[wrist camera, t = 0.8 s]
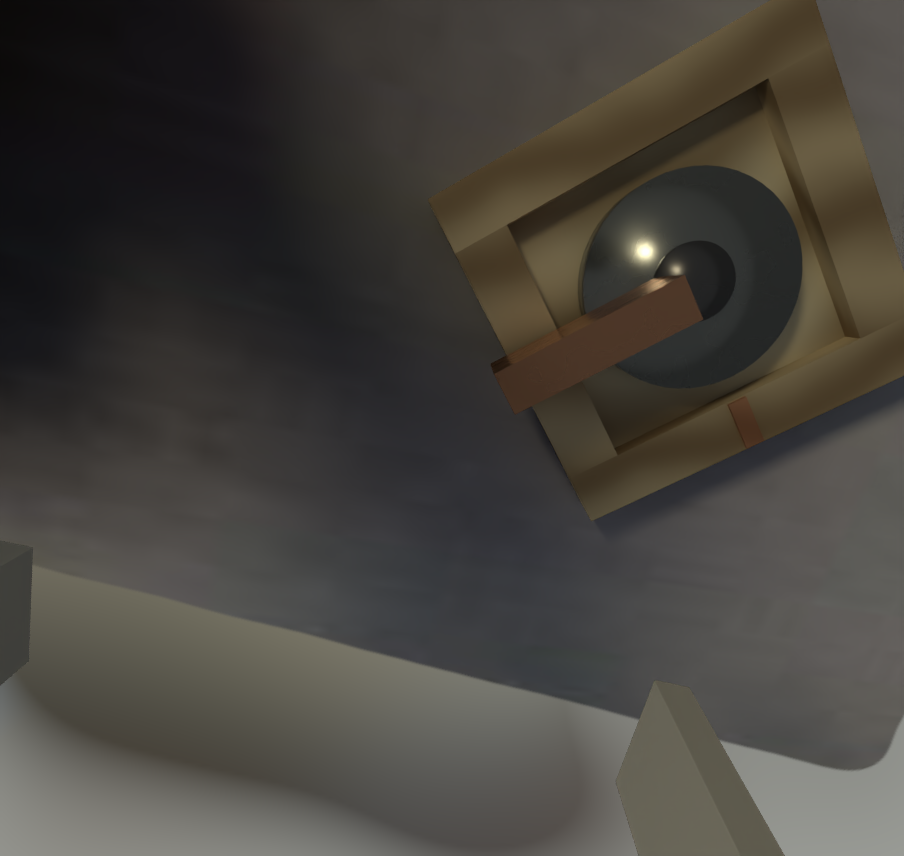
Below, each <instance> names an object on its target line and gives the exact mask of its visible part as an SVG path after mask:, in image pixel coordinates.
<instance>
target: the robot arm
mask: <svg viewBox="0 0 904 856" xmlns="http://www.w3.org/2000/svg"><path fill="white" fill-rule="evenodd" d="M32 556H33V547H28V546H24V545H19V544H14V543H10V542H5V541H0V685H1V684H3V683H4V682H5V681H6V680H7V679H8V678H9V677H11V676H12V675H13V674H14V673H15V672H17V671H18V670H19V669H20V668H21V667H22V666H24V665H25V664H26V663H27V662H28V661H29V639H30V637H29V636H30V610H31V584H32V583H31V582H32ZM616 785H617V788H618V791H619V794H620V797H621V801H622V804H623V807H624V810H625V814H626V817H627V820H628V823H629V827H630V829H631V833H632V836H633V839H634V843H635V846H636V849H637V852H638V856H785V855H784V854H783V852H782V850H781V848H780V847H779V845H778V843H777V841H776V840H775V838H774V836H773V834H772V833H771V831H770V829H769V827H768V825H767V824H766V822H765V820H764V819H763V817H762V815H761V813H760V811H759V810H758V808H757V806H756V804H755V803H754V801H753V799H752V797H751V796H750V794H749V792H748V790H747V789H746V787H745V785H744V783H743V781H742V780H741V778H740V776H739V774H738V773H737V771H736V769H735V767H734V766H733V764H732V762H731V760H730V758H729V757H728V755H727V753H726V751H725V750H724V748H723V746H722V744H721V743H720V741H719V739H718V737H717V736H716V734H715V732H714V730H713V728H712V727H711V725H710V723H709V721H708V720H707V718H706V716H705V714H704V713H703V711H702V709H701V707H700V706H699V704H698V702H697V700H696V699H695V697H694V695H693V693H692V691H691V690H690V688H689V687H685V686H680V685H676V684H671V683H666V682H662V681H657V680H654V683H653V685H652V688H651V691H650V693H649V696H648V698H647V701H646V704H645V706H644V709H643V711H642V714H641V717H640V719H639V722H638V725H637V727H636V730H635V732H634V735H633V737H632V740H631V743H630V746H629V748H628V751H627V753H626V756H625V758H624V761H623V763H622V766H621V769H620V771H619V774H618V776H617V779H616Z"/></svg>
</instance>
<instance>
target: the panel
mask: <svg viewBox="0 0 904 856" xmlns="http://www.w3.org/2000/svg"><path fill="white" fill-rule="evenodd" d="M703 165H710V166H720V167H726V168H730V169H734V170H737V171H740V172H742V173H745V174H747V175H749V176H751V177H753V178H755V179H756V180H758V181H760V182H761V183H763V184H764V185H765V186H766V187H767V188H769V189H770V190H771V191H772V192H773V193H774V194H775V195H776V196H777V197H778V198H779V199H780V201H781V202H782V203H783V204H784V206H785V207H786V209H787V211H788V212H789V214H790V215H791V217H792V220H793V222H794V224H795V226H796V229H797V232H798V236H799V239H800V243H801V250H802V269H803V272H802V280H801V287H800V291H799V295H798V299H797V302H796V305H795V307H794V310H793V313H792V315H791V317H790V319H789V321H788V323H787V324H786V326H785V328H784V330H783V331H782V333H781V334H780V335H779V337H778V338H777V340H776V341H775V342H774V343H773V344H772V346H771V347H770V348H769V349H768V350H767V351H766V352H765V353H764V354H763V355H762V356H761V357H760V358H759V359H758V360H757V361H755V362H754V363H753V364H751V365H750V366H748V367H747V368H746V369H744V370H743V371H741V372H739V373H737V374H736V375H734V376H732V377H730V378H727V379H725V380H723V381H720V382H718V383H714V384H710V385H707V386H702V387H696V388H680V389H677V388H667V387H661V386H657V385H653V384H650V383H647V382H644V381H642V380H639V379H637V378H635V377H633V376H631V375H629V374H628V373H626V372H624V371H622V370H620V369H619V368H617V367H616V366H615V365H612V366H610V367H608V368H606V369H604V370H602V371H600V372H598V373H596V374H594V375H592V376H590V377H589V378H587V379H585V380H583V381H581V382H579V383H577V384H575V385H573V386H571V387H569V388H567V389H565V390H563V391H561V392H559V393H557V394H555V395H553V396H551V397H549V398H547V399H545V400H543V401H541V402H539V403H537V404H535V405H533V406H532V407H533V409H534V411H535V413H536V415H537V417H538V419H539V421H540V423H541V425H542V427H543V429H544V431H545V433H546V435H547V437H548V439H549V441H550V442H551V444H552V446H553V448H554V450H555V452H556V454H557V456H558V458H559V460H560V462H561V464H562V466H563V468H564V470H565V472H566V474H567V476H568V478H569V480H570V482H571V484H572V486H573V488H574V490H575V492H576V494H577V496H578V498H579V500H580V502H581V504H582V505H583V507H584V509H585V511H586V513H587V514H588V516H589V518H590V520H591V521H593V520H595V519H598V518H600V517H602V516H604V515H606V514H608V513H610V512H613V511H615V510H617V509H619V508H621V507H623V506H625V505H628V504H630V503H632V502H634V501H636V500H638V499H640V498H643V497H645V496H647V495H649V494H651V493H653V492H655V491H658V490H660V489H662V488H664V487H666V486H668V485H670V484H673V483H675V482H677V481H679V480H681V479H683V478H685V477H688V476H690V475H692V474H694V473H696V472H698V471H700V470H703V469H705V468H707V467H709V466H711V465H713V464H716V463H718V462H720V461H722V460H724V459H726V458H728V457H731V456H733V455H735V454H737V453H739V452H741V451H743V450H746V449H748V448H750V447H752V446H754V445H756V444H758V443H761V442H763V441H765V440H767V439H769V438H771V437H773V436H776V435H778V434H780V433H782V432H784V431H786V430H788V429H791V428H793V427H795V426H797V425H799V424H801V423H803V422H806V421H808V420H810V419H812V418H814V417H816V416H819V415H821V414H823V413H825V412H827V411H829V410H831V409H834V408H836V407H838V406H840V405H842V404H844V403H846V402H849V401H851V400H853V399H855V398H857V397H859V396H861V395H864V394H866V393H868V392H870V391H872V390H874V389H876V388H879V387H881V386H883V385H885V384H887V383H889V382H891V381H894V380H896V379H898V378H900V377H902V376H904V271H903V268H902V265H901V261H900V258H899V255H898V252H897V249H896V246H895V243H894V240H893V237H892V234H891V231H890V228H889V225H888V222H887V218H886V215H885V212H884V209H883V206H882V203H881V200H880V197H879V194H878V191H877V188H876V185H875V182H874V179H873V176H872V172H871V169H870V166H869V163H868V160H867V157H866V154H865V151H864V148H863V145H862V142H861V139H860V136H859V133H858V129H857V126H856V123H855V120H854V117H853V114H852V111H851V108H850V105H849V102H848V99H847V96H846V93H845V90H844V87H843V83H842V80H841V77H840V74H839V71H838V68H837V65H836V62H835V59H834V56H833V53H832V50H831V47H830V44H829V40H828V37H827V34H826V31H825V28H824V25H823V22H822V19H821V16H820V13H819V10H818V7H817V4H816V1H815V0H770V1H768V2H767V3H765V4H763V5H762V6H760V7H758V8H756V9H755V10H753V11H751V12H749V13H748V14H746V15H744V16H743V17H741V18H739V19H737V20H736V21H734V22H732V23H731V24H729V25H727V26H725V27H724V28H722V29H720V30H718V31H717V32H715V33H713V34H712V35H710V36H708V37H706V38H705V39H703V40H701V41H700V42H698V43H696V44H694V45H693V46H691V47H689V48H687V49H686V50H684V51H682V52H681V53H679V54H677V55H675V56H674V57H672V58H670V59H669V60H667V61H665V62H663V63H662V64H660V65H658V66H656V67H655V68H653V69H651V70H650V71H648V72H646V73H644V74H643V75H641V76H639V77H638V78H636V79H634V80H632V81H631V82H629V83H627V84H625V85H624V86H622V87H620V88H619V89H617V90H615V91H613V92H612V93H610V94H608V95H607V96H605V97H603V98H601V99H600V100H598V101H596V102H594V103H593V104H591V105H589V106H588V107H586V108H584V109H582V110H581V111H579V112H577V113H576V114H574V115H572V116H570V117H569V118H567V119H565V120H563V121H562V122H560V123H558V124H557V125H555V126H553V127H551V128H550V129H548V130H546V131H545V132H543V133H541V134H539V135H538V136H536V137H534V138H532V139H531V140H529V141H527V142H526V143H524V144H522V145H520V146H519V147H517V148H515V149H514V150H512V151H510V152H508V153H507V154H505V155H503V156H501V157H500V158H498V159H496V160H495V161H493V162H491V163H489V164H488V165H486V166H484V167H483V168H481V169H479V170H477V171H476V172H474V173H472V174H470V175H469V176H467V177H465V178H464V179H462V180H460V181H458V182H457V183H455V184H453V185H452V186H450V187H448V188H446V189H445V190H443V191H441V192H439V193H438V194H436V195H434V196H433V197H431V198H429V199H428V201H429V203H430V206H431V208H432V210H433V212H434V214H435V216H436V218H437V220H438V222H439V224H440V226H441V228H442V230H443V232H444V234H445V236H446V238H447V240H448V242H449V244H450V246H451V248H452V249H453V251H454V253H455V255H456V257H457V259H458V261H459V263H460V265H461V267H462V269H463V271H464V273H465V275H466V277H467V279H468V281H469V283H470V285H471V287H472V289H473V291H474V293H475V295H476V297H477V299H478V301H479V303H480V305H481V307H482V309H483V311H484V313H485V314H486V316H487V318H488V320H489V322H490V324H491V326H492V328H493V330H494V332H495V334H496V336H497V338H498V340H499V342H500V344H501V346H502V348H503V350H504V352H505V354H506V355H508V354H510V353H512V352H514V351H516V350H518V349H520V348H522V347H524V346H526V345H527V344H529V343H531V342H533V341H535V340H537V339H539V338H541V337H543V336H545V335H547V334H548V333H550V332H552V331H554V330H556V329H558V328H560V327H562V326H564V325H566V324H568V323H569V322H571V321H573V320H575V319H577V318H579V317H581V313H580V309H579V302H578V276H579V269H580V264H581V260H582V257H583V253H584V250H585V248H586V246H587V243H588V241H589V238H590V237H591V235H592V233H593V231H594V230H595V228H596V226H597V225H598V223H599V222H600V221H601V219H602V218H603V217H604V215H605V214H606V213H607V212H608V211H609V210H610V209H611V208H612V207H613V206H614V205H615V203H617V202H618V201H619V200H620V199H621V198H623V197H624V196H625V195H626V194H628V193H629V192H631V191H632V190H634V189H636V188H637V187H639V186H640V185H642V184H644V183H645V182H647V181H649V180H650V179H653V178H655V177H657V176H659V175H661V174H663V173H666V172H669V171H672V170H675V169H679V168H684V167H690V166H703Z"/></svg>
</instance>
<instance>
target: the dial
mask: <svg viewBox="0 0 904 856" xmlns="http://www.w3.org/2000/svg"><path fill="white" fill-rule="evenodd" d="M802 272H803V269H802V250H801V243H800V239H799V236H798V232H797V229H796V226H795V224H794V222H793V220H792V217H791V215H790V214H789V212H788V211H787V209H786V207H785V206H784V204H783V203H782V202H781V201H780V199H779V198H778V197H777V196H776V195H775V194H774V193H773V192H772V191H771V190H770V189H769V188H767V187H766V186H765V185H764V184H763V183H761V182H760V181H758V180H756V179H755V178H753V177H751V176H749V175H747V174H745V173H742V172H740V171H737V170H734V169H730V168H726V167H720V166H710V165H703V166H690V167H684V168H679V169H675V170H672V171H669V172H666V173H663V174H661V175H659V176H657V177H655V178H653V179H650V180H649V181H647V182H645V183H644V184H642V185H640V186H639V187H637V188H636V189H634V190H632V191H631V192H629V193H628V194H626V195H625V196H624V197H623V198H621V199H620V200H619V201H618V202H617V203H615V205H614V206H613V207H612V208H611V209H610V210H609V211H608V212H607V213H606V214H605V215H604V217H603V218H602V219H601V221H600V222H599V223H598V225H597V226H596V228H595V230H594V231H593V233H592V235H591V237H590V238H589V241H588V243H587V246H586V248H585V250H584V253H583V257H582V260H581V264H580V269H579V276H578V302H579V309H580V313H581V317H579V318H577V319H575V320H573V321H571V322H569V323H568V324H566V325H564V326H562V327H560V328H558V329H556V330H554V331H552V332H550V333H548V334H547V335H545V336H543V337H541V338H539V339H537V340H535V341H533V342H531V343H529V344H527V345H526V346H524V347H522V348H520V349H518V350H516V351H514V352H512V353H510V354H508V355H506V356H505V357H503V358H501V359H499V360H497V361H495V362H493V363H491V367H492V370H493V373H494V375H495V377H496V379H497V381H498V383H499V385H500V387H501V389H502V391H503V393H504V395H505V397H506V398H507V400H508V402H509V404H510V406H511V408H512V410H513V412H514V414H517V413H519V412H521V411H523V410H525V409H527V408H529V407H531V406H533V405H535V404H537V403H539V402H541V401H543V400H545V399H547V398H549V397H551V396H553V395H555V394H557V393H559V392H561V391H563V390H565V389H567V388H569V387H571V386H573V385H575V384H577V383H579V382H581V381H583V380H585V379H587V378H589V377H590V376H592V375H594V374H596V373H598V372H600V371H602V370H604V369H606V368H608V367H610V366H612V365H615V366H616V367H617V368H619V369H620V370H622V371H624V372H626V373H628V374H629V375H631V376H633V377H635V378H637V379H639V380H642V381H644V382H647V383H650V384H653V385H657V386H661V387H667V388H677V389H680V388H696V387H702V386H707V385H710V384H714V383H718V382H720V381H723V380H725V379H727V378H730V377H732V376H734V375H736V374H737V373H739V372H741V371H743V370H744V369H746V368H747V367H748V366H750V365H751V364H753V363H754V362H755V361H757V360H758V359H759V358H760V357H761V356H762V355H763V354H764V353H765V352H766V351H767V350H768V349H769V348H770V347H771V346H772V344H773V343H774V342H775V341H776V340H777V338H778V337H779V335H780V334H781V333H782V331H783V330H784V328H785V326H786V324H787V323H788V321H789V319H790V317H791V315H792V313H793V310H794V307H795V305H796V302H797V299H798V295H799V291H800V287H801V280H802Z"/></svg>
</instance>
